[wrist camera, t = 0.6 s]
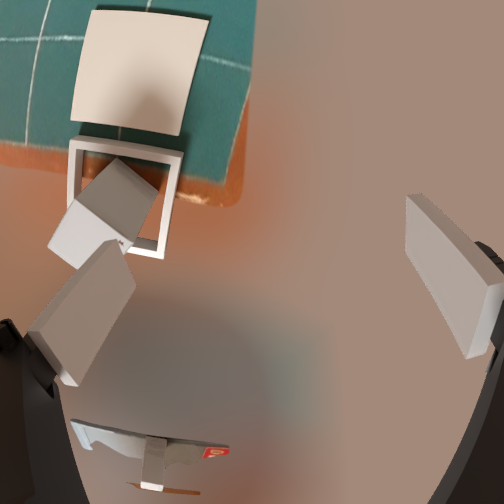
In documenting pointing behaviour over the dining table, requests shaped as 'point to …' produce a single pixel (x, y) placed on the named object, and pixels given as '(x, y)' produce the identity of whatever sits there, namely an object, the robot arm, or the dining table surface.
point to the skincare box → (153, 463)
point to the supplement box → (104, 214)
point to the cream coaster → (137, 69)
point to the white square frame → (136, 151)
